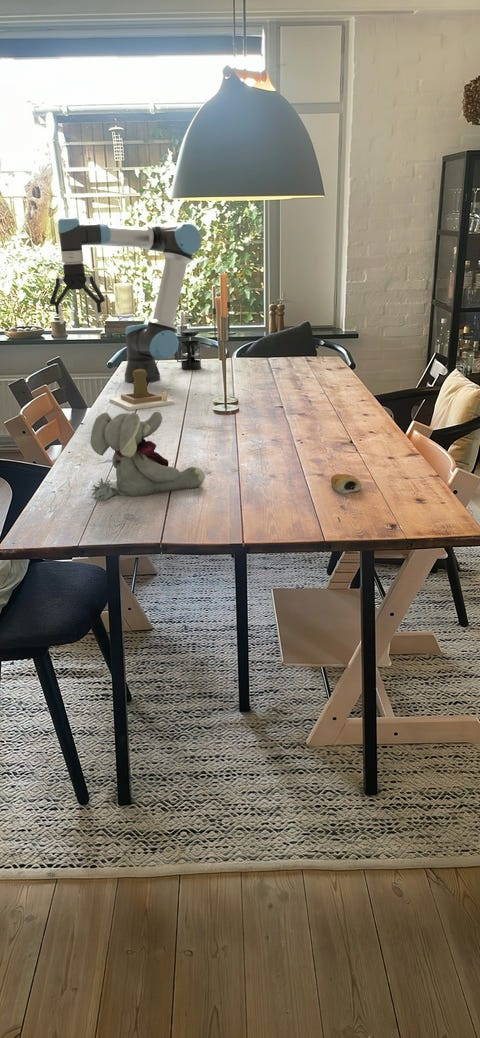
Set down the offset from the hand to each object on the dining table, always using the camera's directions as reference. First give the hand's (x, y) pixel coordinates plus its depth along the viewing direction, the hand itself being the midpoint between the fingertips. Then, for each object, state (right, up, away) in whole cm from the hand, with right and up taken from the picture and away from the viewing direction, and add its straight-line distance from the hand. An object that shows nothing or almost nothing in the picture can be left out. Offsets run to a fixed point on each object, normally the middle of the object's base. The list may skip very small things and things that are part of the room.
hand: (80, 322), depth 289 cm
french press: (+37, -5, +65) cm, 75 cm away
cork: (+24, -30, -4) cm, 38 cm away
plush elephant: (+35, -67, -98) cm, 124 cm away
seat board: (+24, -31, -4) cm, 39 cm away
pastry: (+86, -67, -101) cm, 148 cm away
